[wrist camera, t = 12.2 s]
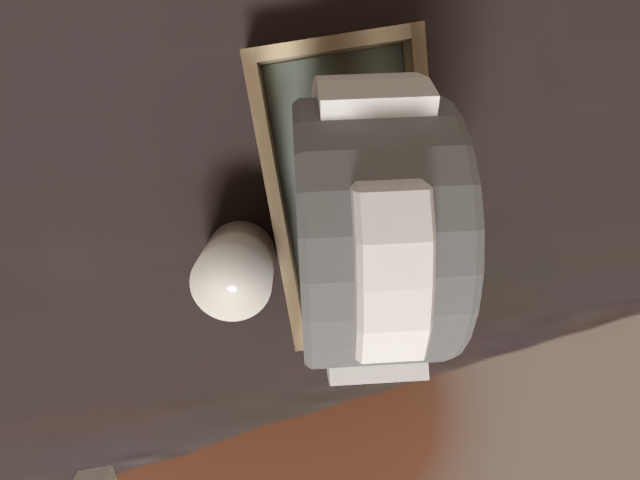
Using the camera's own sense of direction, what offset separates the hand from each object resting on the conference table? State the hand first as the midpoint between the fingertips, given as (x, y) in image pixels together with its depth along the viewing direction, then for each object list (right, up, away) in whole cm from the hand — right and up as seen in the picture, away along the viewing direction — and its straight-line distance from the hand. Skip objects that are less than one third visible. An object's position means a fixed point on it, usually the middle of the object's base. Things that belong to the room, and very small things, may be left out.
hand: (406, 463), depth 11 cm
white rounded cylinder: (-9, +4, +31) cm, 32 cm away
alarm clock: (0, +9, +29) cm, 30 cm away
